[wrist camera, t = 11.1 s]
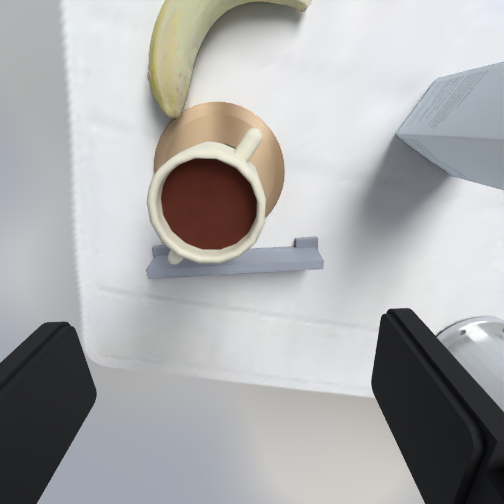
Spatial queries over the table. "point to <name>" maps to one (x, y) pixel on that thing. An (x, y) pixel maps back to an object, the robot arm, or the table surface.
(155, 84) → the fruit
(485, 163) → the skincare box
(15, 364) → the robot arm
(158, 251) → the grey cabinet handle
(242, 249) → the character mug
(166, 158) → the coaster
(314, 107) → the table surface
